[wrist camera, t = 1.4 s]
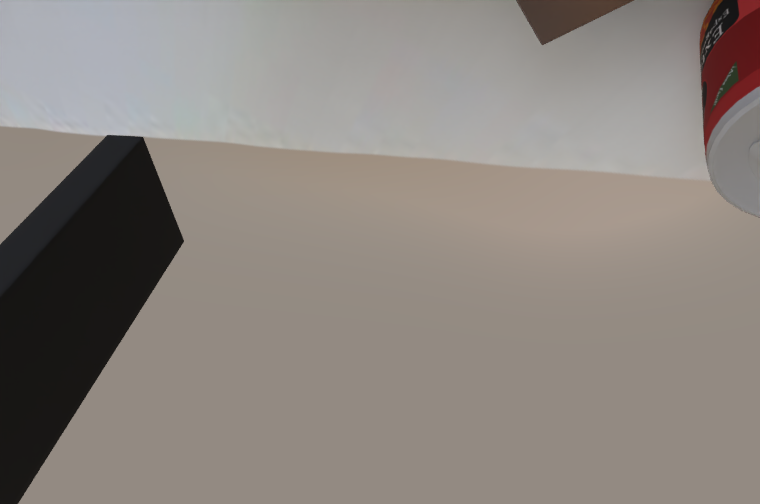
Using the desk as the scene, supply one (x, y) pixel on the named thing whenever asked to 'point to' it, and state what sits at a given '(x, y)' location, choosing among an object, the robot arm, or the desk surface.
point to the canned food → (732, 100)
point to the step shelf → (564, 15)
